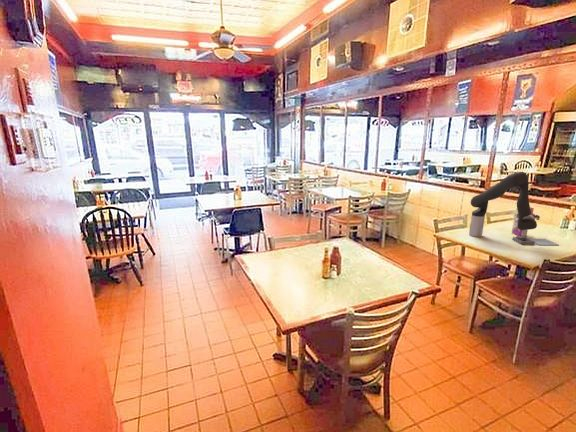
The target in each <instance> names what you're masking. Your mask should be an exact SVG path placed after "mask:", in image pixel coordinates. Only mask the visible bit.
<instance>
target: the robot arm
mask: <svg viewBox="0 0 576 432" xmlns="http://www.w3.org/2000/svg"><path fill="white" fill-rule="evenodd" d="M516 187H519V194H518V197H517V201H516V209H517V213H516V214H517V218H518V224H517V226H518V228H519V229H520V230H528V231H529V230H535V229H536V228H537V227H538V224H537V221H539V220H540V219H541V217H540V215H538V214H535V213H533V214H531V210H530V207H531V206H530V205H531V204H530V199H529V195H530V194H529V192H530V191H529V188H530V187H529V176H528V174H527V173H526V172H524V171H519V172H515V173H510V174H509V175H507V176H506V177H504V178H503V179H502V180H501V181H499V182H497V183H496V184H494V185H492V186H491V187H489V188H488V189H486V190H484V191H483V192H480V193H479V194H477V195H475V196H473V197H472V198H471V200H470V205H471V206H472V207H473V208H476V209H475V210H472V212H471V218H470V225H469V231H468V232H469V233H468V234H469V236H471V237H475V238H476V237H477V238H481V237H483V234H484V233H483V231H484V224H485V219H486V213H487V211H488V206H489V202H490V201H494V200H496V199H498V198H500V197H502V196H503V195H504V194H505V193H506V191H507V190H509V189H513V188H516Z"/></svg>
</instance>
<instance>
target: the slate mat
mask: <svg viewBox="0 0 576 432" xmlns="http://www.w3.org/2000/svg"><path fill="white" fill-rule="evenodd" d="M530 239H531V240H533V241H535V244H534V245H538V246H559V244H558V243H555V242H554V241H552V240H550V239H547V238H530Z"/></svg>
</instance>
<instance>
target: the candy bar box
mask: <svg viewBox="0 0 576 432" xmlns="http://www.w3.org/2000/svg"><path fill="white" fill-rule="evenodd" d="M517 214H518V213H516V214H514V216H513V217H514V218H513V222H512V223H513V224H512V230H511V233H512V234H514V235H516V236H519V237H527V236H528V235H527V234H528V231H529V230H520V229H519V228H518V226H517V224H518V218H517Z"/></svg>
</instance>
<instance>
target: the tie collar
mask: <svg viewBox="0 0 576 432" xmlns="http://www.w3.org/2000/svg"><path fill="white" fill-rule="evenodd" d="M531 239H532V238H529V237H527V236H526V237H520V236H518V235H516V236H513V237H512V241H513V240H514V241H513V242H515V241H516V244H519V245H536V244H535V241H533V240H531ZM521 240H526V241H521Z"/></svg>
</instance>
